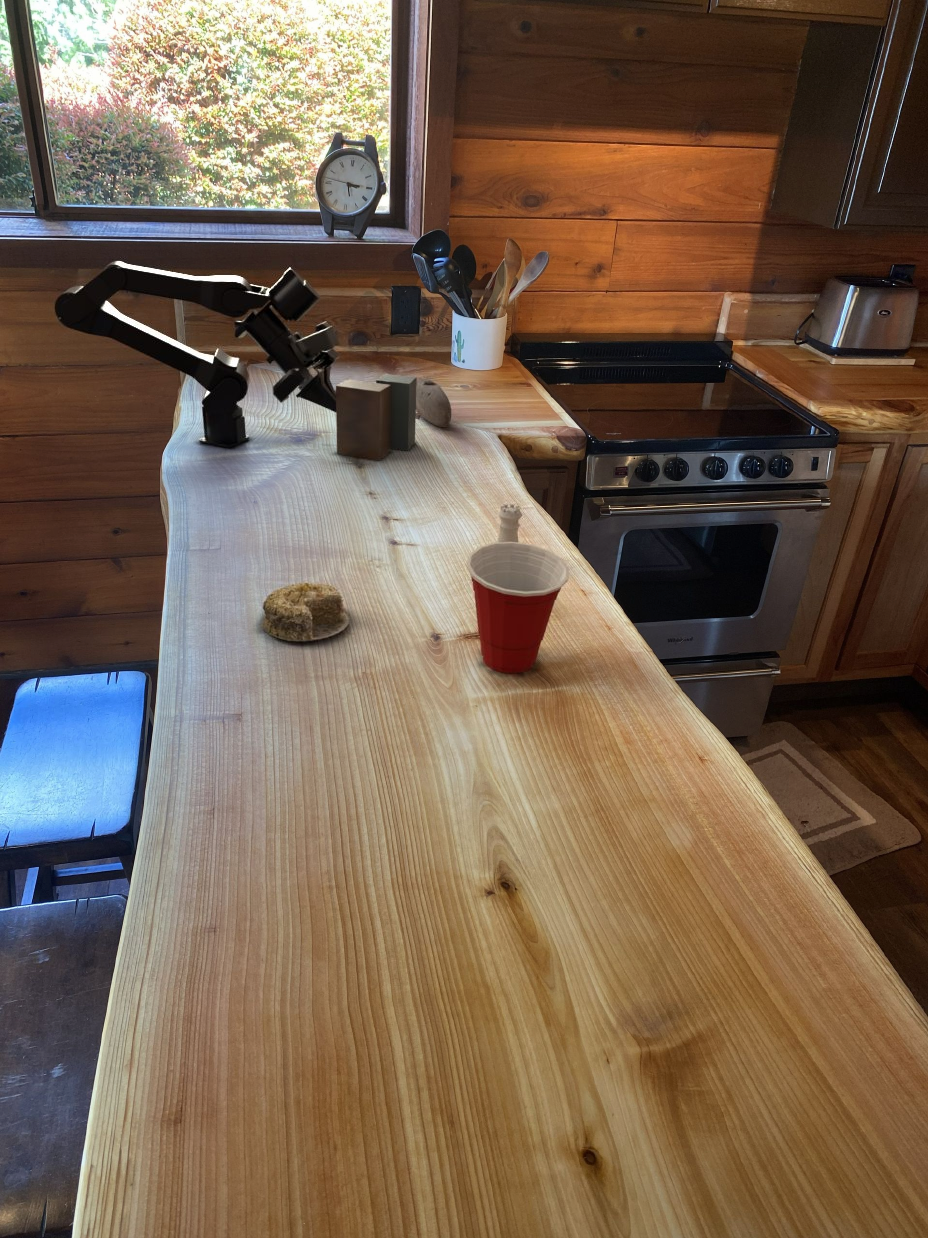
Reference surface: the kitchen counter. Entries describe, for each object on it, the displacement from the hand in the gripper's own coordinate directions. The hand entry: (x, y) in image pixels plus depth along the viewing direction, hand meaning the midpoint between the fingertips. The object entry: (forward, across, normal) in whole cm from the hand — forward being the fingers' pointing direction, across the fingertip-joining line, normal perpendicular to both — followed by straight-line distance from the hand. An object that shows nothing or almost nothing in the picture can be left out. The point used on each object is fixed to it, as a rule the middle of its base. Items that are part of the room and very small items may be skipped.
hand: (341, 411), depth 157 cm
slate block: (+11, +6, -1) cm, 12 cm away
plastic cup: (+34, -63, -23) cm, 75 cm away
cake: (+16, -62, -6) cm, 64 cm away
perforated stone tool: (+13, +23, -3) cm, 26 cm away
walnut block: (+8, -1, +2) cm, 8 cm away
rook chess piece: (+30, -38, -20) cm, 52 cm away
